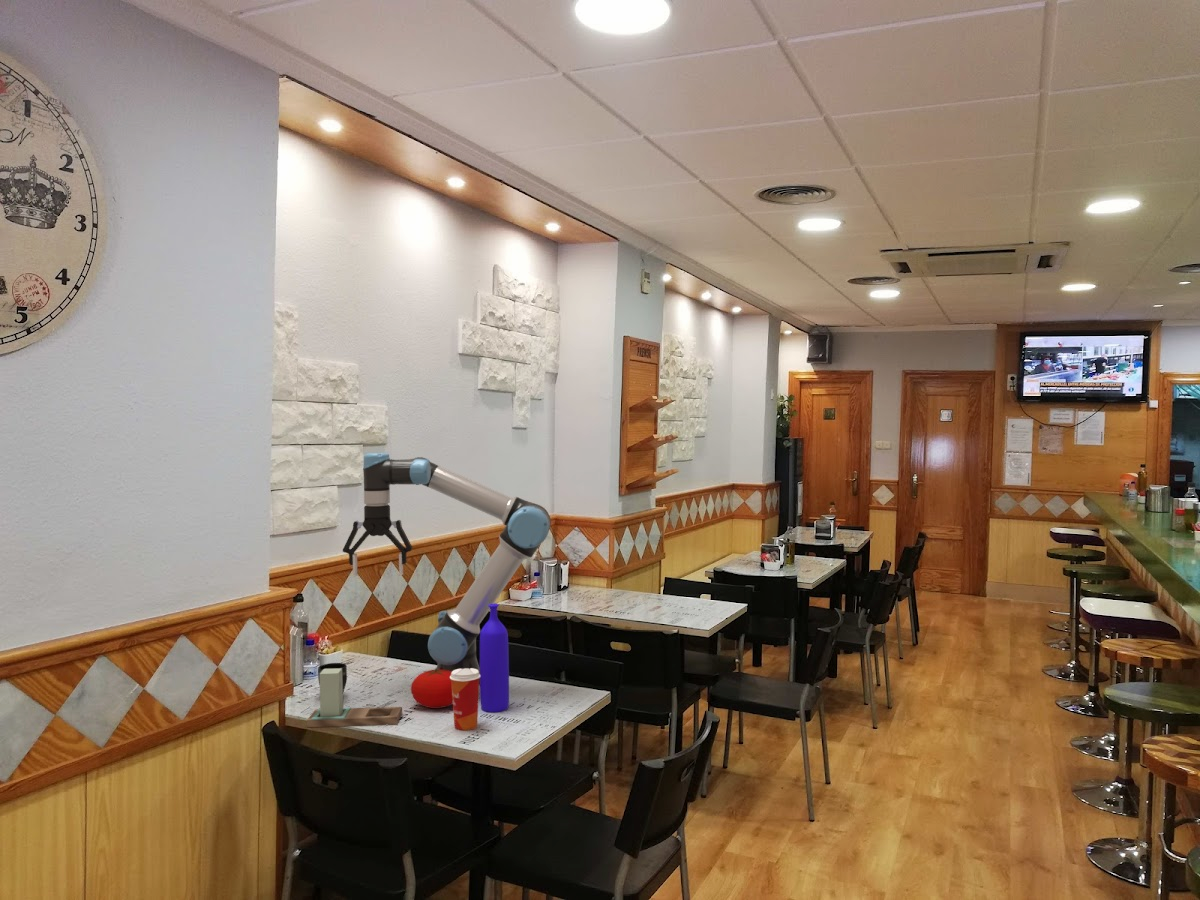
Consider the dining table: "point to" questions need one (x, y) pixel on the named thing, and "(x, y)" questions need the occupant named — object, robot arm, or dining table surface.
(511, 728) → the dining table surface
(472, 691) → the coffee cup
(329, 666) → the mug
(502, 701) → the bottle
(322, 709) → the block
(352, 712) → the wooden board
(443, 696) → the tomato
